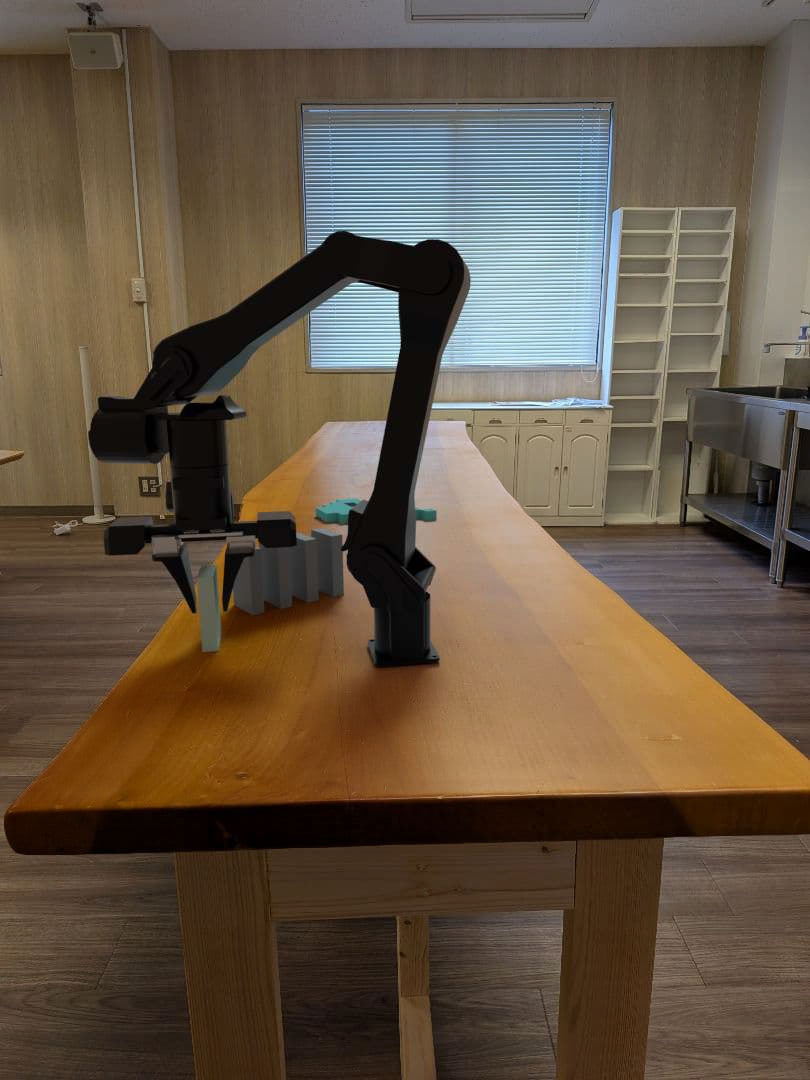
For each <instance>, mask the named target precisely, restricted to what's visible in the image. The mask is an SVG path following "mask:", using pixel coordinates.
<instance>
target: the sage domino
mask: <svg viewBox="0 0 810 1080" xmlns="http://www.w3.org/2000/svg"><path fill="white" fill-rule="evenodd" d="M196 583H197V584H196V585H197V586H196V587H197V597H198V612H199V625H200V627H199V628H200V636H201V637H200V638H201V640H200V641H201V650H202V651H201V652H202V653H207V652H209V653H210V652H218V651H219V650H220V644H221V638H222V626H221V625H222V624H221V621H222V620H221V609H220V607H221V606H220V596H219V595H220V594H219V593H220V592H219V578H218V565H217V564H216V563H215V564H202V565H200V568H199V571H198V574H197V577H196Z"/></svg>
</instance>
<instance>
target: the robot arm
mask: <svg viewBox="0 0 810 1080" xmlns="http://www.w3.org/2000/svg"><path fill="white" fill-rule="evenodd" d="M471 279H472V277H471V273H470V270H469V267H468V265H467V264H466V262H465V261H464V259H463V257H462V256H461V254H460V252H459V251H458V249H456V248H455V247H454V246H453V245H451V244H450V243H449V242H447V241H444V240H441V239H436V238H435V239H434V238H433V239H432V238H429V239H425V240H422V241H419V242H417V243H416V244H414V245H411V244H406V243H401V242H398V241H394V240H388V239H381V238H373V237H367V236H361V235H356V234H354V233H353V232H350V231H347V230H336V231H334V232H332V233H330V234H329V235H327V237H326V238H325V239H324V241H323V242H322V243H321V244H320V245H319V246H316V247H315V248H314V249H313V250H312V251H310V252H309V253H308V254H306V255H305V256H303V257H302V258H301V259H299V260H298V261H296V262H295V263H294V264H292V265H291V266H289V267H288V268H287V269H285V270H284V271H283V272H281V273H280V274H278V275H277V276H275V277H273V279H271V280H270V281H269V282H267V283H266V284H265V285H262V287H260V288H259V289H258V290H256V291H255V292H253V293H252V294H251V295H249V296H248V297H247V298H245V299H244V300H242V301H241V302H239V303H238V304H236V306H234V307H233V308H231V309H230V310H228V311H227V312H225V313H223V314H221V315H219V316H217V317H213V318H211V319H208V320H205V321H202V322H199V323H196V324H193V325H190V326H188V327H186V328H184V329H182V330H179V331H178V332H176V333H175V332H174V333H173V334H171V335H169V336H167V337H165V338H162V339H161V340H160V342H158V344H157V345H155V347H154V349H153V351H152V355H153V357H152V363H151V364H152V367H151V369H150V370H149V372H148V373H147V375H146V377H145V379H144V381H143V383H142V384H141V386H140V387H139V389H138V390H137V392H136V394H135V396H134V397H133V398H132V397H124V396H117V395H109V396H99V397H98V398H97V405H98V406H97V407H98V409H97V410H95V412H94V414H93V416H92V418H91V422H90V425H89V426H90V427H89V428H90V429H89V430H88V431H87V437H88V443H89V448H90V450H91V452H92V455H93V456H94V457H95V458H96V459H97V460H98V462H100V463H103V464H130V465H132V464H134V465H135V464H137V465H138V464H139V465H140V464H143V465H145V464H146V465H148V464H149V465H157V464H159V463H161V462H162V461H163V460H164V458H165V456H166V455H167V454H168V455H169V471H170V479H171V481H166V482H165V508H166V510H167V511H168V512H169V513H173V516H174V517H173V519H174V520H173V521H174V523H169V524H166V523H165V524H154V521H153V516H151V515H150V516H132V517H131V516H127V517H125V516H124V517H117V518H116V519H115V520H114V521H113V522H112V523H110V525H109V526H108V527H107V528H106V529H105V530H104V531H103V545H104V546H103V547H104V555H106V556H110V557H111V556H128V555H130V556H132V555H138V554H139V553H140V552H141V551H142V550H143V549H144V548H145V547H146V545H147V544H151V547H152V550H153V553H152V555H151V561H152V562H155V563H156V562H159V563H162V564H163V566H164V567H165V568H166V570H167V571H168V573H169V574H170V575H171V577H172V579H173V580H174V581H175V584H177V587H178V588H179V591H180V592H181V594H182V596H183V598H184V600H185V603H186V604H187V605H188V607H189V610H190V612H191V613H192V614H195V615H196V614H197V613H198V612H197V611H198V602H197V593H196V590H195V589H196V588H195V583H194V578H193V573H192V567H191V563H190V554H189V553H190V552H189V545H188V542H189V543H190V542H208V541H209V542H211V541H212V542H213V541H226V547H225V550H224V551H225V552H224V561H223V563H224V564H223V579H222V595H221V597H222V598H221V600H222V601H221V603H222V612H225V613H226V612H228V608H229V607H230V606H229V604H230V602H231V597H232V595H233V586H234V582H235V579H236V576H237V574H238V572H239V569H240V567H241V565H242V562H243V560H244V558H245V557H252V556H254V555H255V546H256V539H257V542H258V544H259V543H261V544H262V545H263V546H264V547H265V548H281V547H293V546H297V536H296V532H297V523H296V517H295V516H296V515H294V514H293V513H292V512H291V510H283V511H282V510H281V511H278V510H277V511H276V510H275V511H258V512H257V514H256V515H257V517H256V518H257V519H256V520H246V521H245V520H241V521H233V519H234V518H235V510H234V509H235V507H234V495H233V493H232V489H231V485H230V484H231V482H230V481H231V480H230V466H229V465H230V464H229V449H228V448H229V447H228V435H227V433H228V432H227V421H233V420H239V419H244V418H246V417H247V412H246V411H245V409H243V408H242V407H241V406H239V405H238V404H237V403H236V402H234V400H233V399H232V397H231V395H229V394H221V395H217V397H216V398H215V400H214V401H213V402H194V401H195V400H196V399H197V398H198V397H200V396H213V395H215V394H218V393H220V392H221V391H223V389H225V387H227V386H228V385H229V383H230V382H232V381H233V380H234V379H235V378H236V377H237V376H238V374H240V373H241V371H242V370H243V369H244V368H245V367H246V366H247V363H248V362H249V361H250V359H251V357H252V356H253V355H254V354H255V353H256V352H257V351H258V350H259V349H260V348H261V347H262V346H264V345H265V344H266V343H268V342H269V341H271V340H272V339H274V337H276V336H278V335H279V334H281V333H282V332H284V331H285V330H287V329H288V328H289V327H291V326H293V325H294V324H295V323H297V322H298V321H299V320H302V319H303V318H304V317H305V316H307V315H308V314H310V313H311V312H312V311H314V310H316V309H317V308H318V307H320V306H321V305H322V304H324V303H326V302H327V301H328V300H330V299H331V298H332V297H334V296H335V295H337V294H338V293H339V292H341V291H343V290H344V289H346V287H348V286H350V285H352V284H354V283H360V284H365V285H369V286H372V287H376V288H380V289H382V290H387V291H390V292H394V293H397V294H398V298H397V299H398V301H397V302H398V303H397V304H398V307H397V308H398V309H397V311H398V312H397V313H398V323H399V325H398V326H399V334H400V335H399V336H400V337H399V339H400V340H399V341H400V342H399V343H400V345H399V347H400V348H399V352H398V358H397V364H396V366H395V367H396V369H395V374H394V380H393V384H392V390H391V393H390V394H391V395H390V400H389V405H388V411H387V416H386V422H385V426H384V427H385V428H384V431H383V438H382V443H381V448H380V452H379V453H380V454H379V457H378V464H377V468H376V474H375V479H374V484H373V485H374V486H373V489H372V493H371V495H370V497H369V499H368V500H366V499H362V500H361V502H359V503H358V504H357V505H356V506H354V507H353V508H352V509H351V510H349V514H348V523H347V535H346V539H345V541H344V543H343V546H342V548H341V551H343V552H346V553H347V554H346V567H347V571H348V572H350V575H352V577H353V579H354V580H356V581H357V582H358V583H359V584H360V585H361V586H362V587H363V590H364V592H365V595H366V597H367V600H368V603H369V606H370V607H371V608H372V609H373V613H374V614H373V619H374V620H373V621H374V623H373V624H374V625H373V628H374V631H373V632H374V638H370V639H368V640H367V648H368V649H369V652H370V656H371V658H372V661H373V663H374V666H376V667H390V666H391V667H393V666H403V665H405V666H406V665H416V664H417V665H418V664H431V663H439V662H440V658H441V657H440V655H439V653H438V651H437V650H436V648H435V646H434V644H433V643H432V640H431V594H430V593H429V592H428V591H427V590H428V588H429V587H430V585H431V584H432V581H433V578H434V576H435V573H436V570H437V567H436V565H435V564H434V563H433V562H432V561H431V560H430V559H429V558H428V557H426V555H424V554H423V553H422V551H421V550H419V549H418V547H417V546H416V540H417V539H416V537H417V535H416V533H417V532H416V531H417V519H416V513H415V508H416V500H415V497H416V496H415V495H416V494H415V491H416V486H417V482H418V478H419V477H418V476H419V472H420V467H421V463H422V458H423V452H424V447H425V443H426V437H427V434H428V433H427V432H428V428H429V423H430V419H431V412H432V408H433V404H434V399H435V394H436V389H437V383H438V381H439V380H438V378H439V375H440V369H441V364H442V360H443V355H444V352H445V350H446V348H447V345H448V343H449V341H450V338H451V337H452V335H453V333H454V330H455V328H456V325H457V324H458V321H459V318H460V316H461V313H462V310H463V308H464V306H465V303H466V301H467V298H468V295H469V293H470V288H471V282H472V280H471ZM181 405H183V407H182V409H181V411H180V412H169V411H168V409H169V408H168V407H173V406H181Z"/></svg>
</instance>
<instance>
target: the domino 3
mask: <svg viewBox="0 0 810 1080" xmlns="http://www.w3.org/2000/svg"><path fill="white" fill-rule="evenodd" d="M296 536H297V546H293V547H290V565H291V587H292V597H294V598H297V599H299V600H301V601H303V602H304V603H307V604H309V603H313V602H317V601H319V597H320V596H319V590H318V569H317V542H316V539H315V538H312V537H311V536H309V535H307V534H304V533H300V532H297V531H296Z"/></svg>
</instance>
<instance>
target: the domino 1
mask: <svg viewBox="0 0 810 1080" xmlns="http://www.w3.org/2000/svg"><path fill="white" fill-rule="evenodd" d="M232 595H233V597H232V598H233V606H234V605H235V607H236V606H237V608H238V607H239V608H238V609H240V610H242V611H243V610H244V611H243V612H246V613H247V614H248V615H250V614H251V616H256V615H260V614H261V613H262V614H265V601H264V594H263V575H262V556H261V548H259V546H257V545H255V555H254V556H252V557H245V558H244V560H243V562H242V565H241V567H240V569H239V572H238V574H237V576H236V579H235V582H234V586H233V590H232Z"/></svg>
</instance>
